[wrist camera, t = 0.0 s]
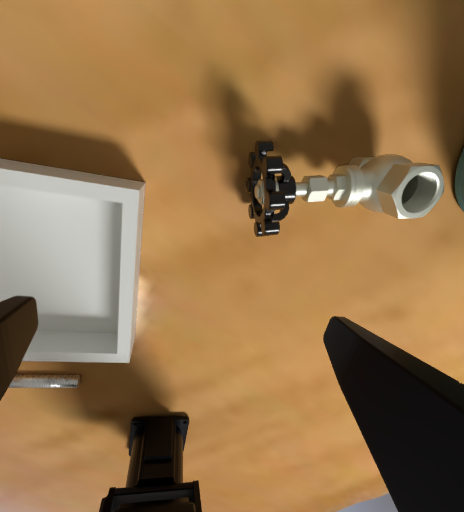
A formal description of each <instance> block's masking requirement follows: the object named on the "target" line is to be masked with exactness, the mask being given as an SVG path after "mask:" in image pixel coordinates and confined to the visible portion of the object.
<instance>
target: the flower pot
mask: <svg viewBox="0 0 464 512" xmlns="http://www.w3.org/2000/svg"><path fill="white" fill-rule="evenodd" d="M455 194H456V198H457V202H458V204H459V206H460V208H461V209H462V210H463V212H464V149H463V151H462V154H461V156H460V159H459V162H458V165H457V170H456V175H455Z"/></svg>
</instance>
